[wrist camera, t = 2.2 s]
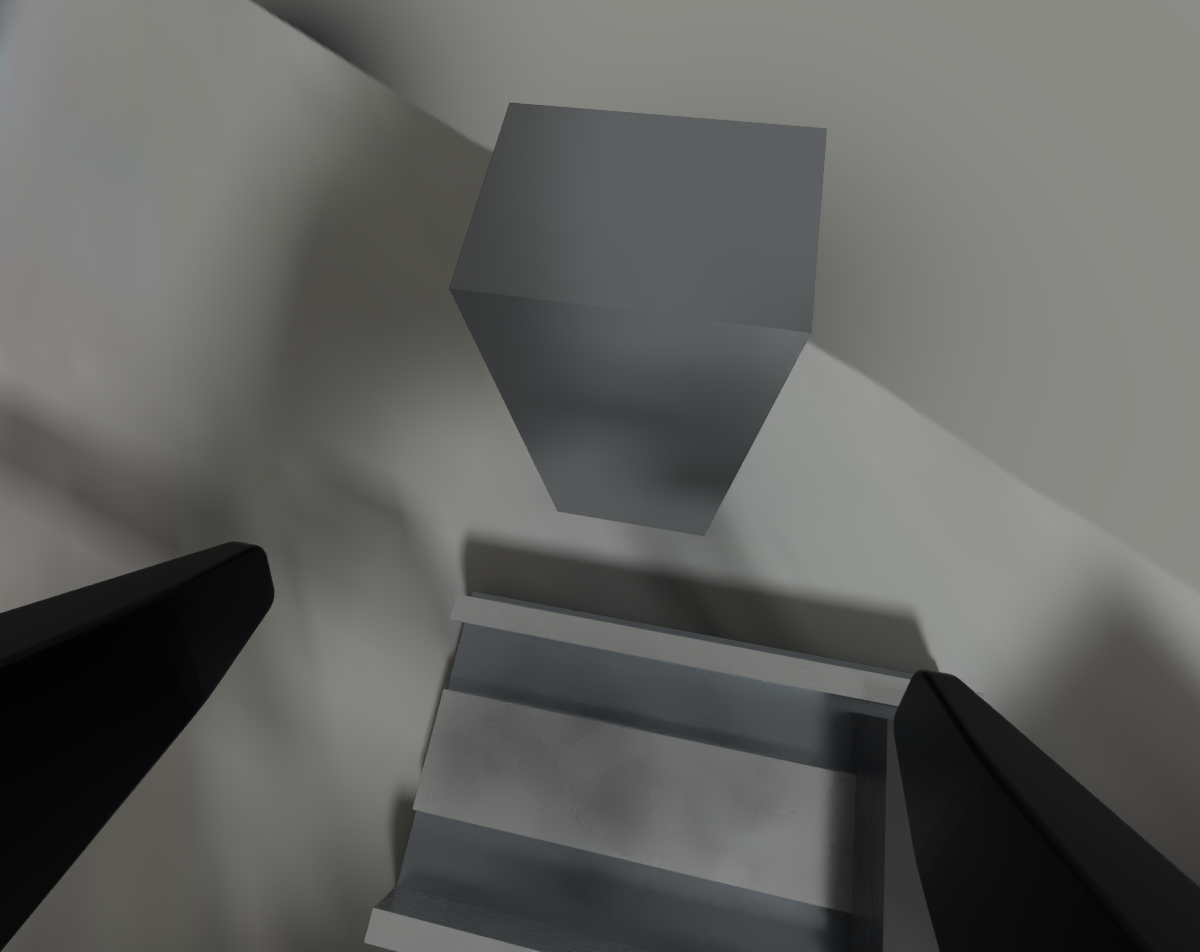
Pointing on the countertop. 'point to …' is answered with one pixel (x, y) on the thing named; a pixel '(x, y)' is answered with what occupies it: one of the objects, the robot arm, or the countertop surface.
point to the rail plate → (654, 797)
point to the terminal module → (642, 298)
